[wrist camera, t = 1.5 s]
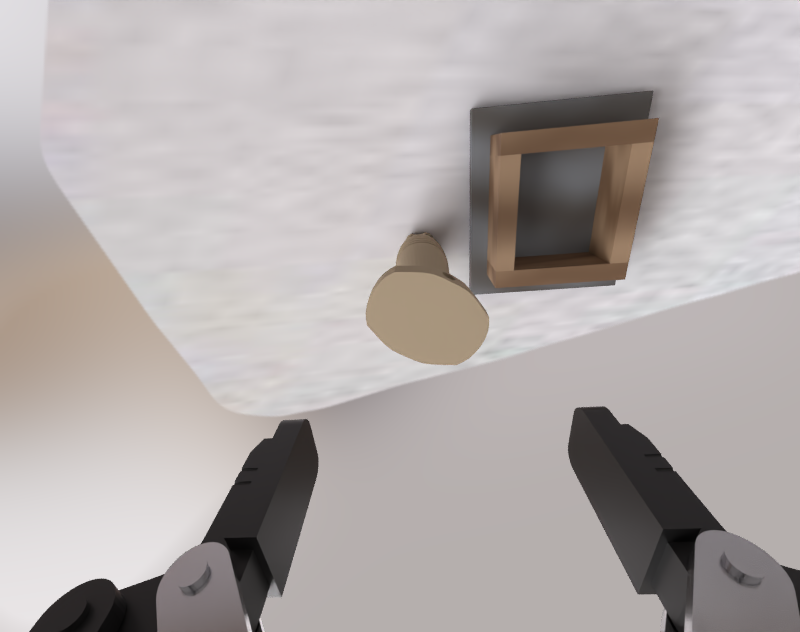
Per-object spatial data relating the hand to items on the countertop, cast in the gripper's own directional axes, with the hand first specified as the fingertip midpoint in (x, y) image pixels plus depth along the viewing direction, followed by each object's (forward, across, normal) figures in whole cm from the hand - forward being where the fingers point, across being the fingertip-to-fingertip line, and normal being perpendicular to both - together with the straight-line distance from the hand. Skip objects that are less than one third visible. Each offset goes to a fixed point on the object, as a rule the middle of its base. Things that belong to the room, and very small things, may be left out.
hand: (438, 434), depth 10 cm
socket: (+23, -11, -3) cm, 25 cm away
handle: (+23, 0, 0) cm, 23 cm away
